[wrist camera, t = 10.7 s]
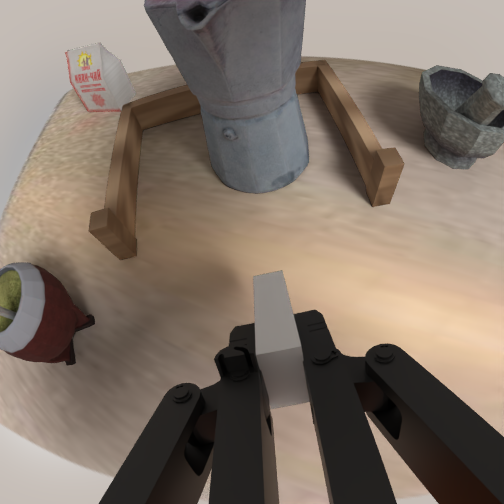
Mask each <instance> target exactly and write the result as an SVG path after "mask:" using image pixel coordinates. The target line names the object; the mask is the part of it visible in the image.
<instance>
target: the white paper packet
mask: <svg viewBox="0 0 504 504" xmlns="http://www.w3.org/2000/svg"><path fill="white" fill-rule="evenodd" d="M65 54H66V57H67V62H68V69H69V78H70V83H71V84H72V86H73V88H74V89H75V91H76V93H77V94H78V96H79V98H80V99H81V101H82V103H83V104H84V106H85V107H86V109H87V111H88V112H103V111H121V110H122V106H123V105H124V104H127V103H129V102H130V100H131V99H132V98H133V97H134V96H135V95H136V92H135V90H134V87H133V85H132V83H131V81H130V79H129V77H128V75H127V73H126V70H125V68H124V66H123V64H122V62H121V60H120V59H119V58H117V57H116V56H115V55H113V54H112V53H111V52H109V51H108V50H107V49H106V48H105V47H104V46H103V45H102V44H101V43H95V44H91V45H87V46H83V47H79V48H76V49H72V50H68V51H67V52H65Z"/></svg>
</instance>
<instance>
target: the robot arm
mask: <svg viewBox="0 0 504 504" xmlns="http://www.w3.org/2000/svg"><path fill="white" fill-rule="evenodd" d="M253 284H254V315H255V323H252V324H247V325H241V326H236V327H235V328H234V329H233V330H232V332H231V333H230V340H229V342H230V343H229V346H228V347H226V348H224V349H222V350H220V351H219V352H218V353H217V354H216V356H215V358H214V360H215V363H216V366H217V369H218V371H219V374H220V377H221V380H220V381H219V382H217V383H216V384H214V385H211V386H209V387H206V388H203V389H201V390H200V388H199V387H198V386H197V385H195V384H192V383H182V384H179V385H176V386H174V387H173V388H171V389H170V390H169V391H168V392H167V393H166V394H165V396H164V398H163V399H162V401H161V403H160V404H159V406H158V407H157V409H156V411H155V412H154V414H153V416H152V417H151V419H150V421H149V422H148V424H147V425H146V427H145V429H144V430H143V432H142V434H141V435H140V437H139V439H138V440H137V442H136V443H135V445H134V447H133V448H132V450H131V452H130V453H129V455H128V456H127V458H126V460H125V461H124V463H123V465H122V466H121V468H120V470H119V471H118V473H117V474H116V476H115V478H114V479H113V481H112V483H111V484H110V486H109V488H108V489H107V491H106V492H105V494H104V496H103V497H102V499H101V501H100V502H99V504H197V503H198V501H199V498H200V496H201V493H202V491H203V488H204V486H205V484H206V481H207V479H208V476H209V474H210V471H211V468H212V472H211V483H210V494H209V504H279V494H278V482H277V469H276V457H275V445H274V432H273V420H272V416H271V413H270V407H271V409H274V408H280V407H285V406H291V405H296V404H301V403H306V402H310V405H311V411H312V417H313V424H314V426H315V431H316V436H317V441H318V445H319V450H320V456H321V461H322V466H323V471H324V476H325V481H326V486H327V492H328V497H329V502H330V504H397V503H396V500H395V497H394V494H393V491H392V488H391V485H390V482H389V479H388V476H387V473H386V470H385V467H384V464H383V461H382V459H381V456H380V453H379V450H378V447H377V445H376V442H375V439H374V436H373V434H372V431H371V428H370V426H369V423H368V420H367V417H366V415H365V412H366V413H367V415H368V417H369V418H370V419H371V420H372V422H373V423H374V424H375V425H376V427H377V428H378V429H379V430H380V432H381V433H382V434H383V435H384V437H385V438H386V439H387V440H388V442H389V443H390V444H391V445H392V447H393V448H394V449H395V450H396V452H397V453H398V454H399V455H400V456H401V458H402V459H403V460H404V461H405V463H406V464H407V465H408V466H409V468H410V469H411V470H412V471H413V473H414V474H415V475H416V476H417V478H418V479H419V480H420V481H421V482H422V484H423V485H424V486H425V487H426V489H427V490H428V491H429V492H430V494H431V495H432V496H433V497H434V498H435V500H436V501H437V502H438V503H439V504H504V437H503V436H502V435H501V434H500V433H499V432H497V431H496V430H495V429H494V428H493V427H492V426H491V425H490V424H488V423H487V422H486V421H485V420H484V419H483V418H482V417H480V416H479V415H478V414H477V413H476V412H475V411H474V410H472V409H471V408H470V407H469V406H468V405H467V404H466V403H464V402H463V401H462V400H461V399H460V398H459V397H457V396H456V395H455V394H454V393H453V392H452V391H451V390H449V389H448V388H447V387H446V386H445V385H444V384H442V383H441V382H440V381H439V380H438V379H437V378H435V377H434V376H433V375H432V374H431V373H429V372H428V371H427V370H426V369H425V368H424V367H422V366H421V365H420V364H419V363H418V362H417V361H415V360H414V359H413V358H412V357H411V356H409V355H408V354H407V353H406V352H405V351H403V350H402V349H401V348H400V347H398V346H396V345H393V344H380V345H376V346H374V347H372V348H371V349H369V350H368V352H367V353H366V357H350V356H345V355H343V354H341V352H340V351H339V350H338V349H336V347H335V345H334V342H333V340H332V337H331V335H330V332H329V330H328V328H327V325H326V323H325V320H324V317H323V315H322V314H321V313H319V312H318V311H317V310H311V311H307V312H302V313H297V314H293V310H292V307H291V303H290V299H289V295H288V291H287V287H286V283H285V279H284V275H283V271H282V270H281V271H277V272H272V273H267V274H262V275H257V276H253ZM269 404H270V405H269Z"/></svg>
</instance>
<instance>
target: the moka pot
mask: <svg viewBox="0 0 504 504" xmlns="http://www.w3.org/2000/svg"><path fill="white" fill-rule="evenodd" d="M305 5H306V0H145V4H144V7H145V10H146V13H147V14H148V16H149V18H150V19H151V21H152V23H153V25H154V26H155V28H156V30H157V32H158V33H159V35H160V37H161V39H162V40H163V42H164V44H165V46H166V48H167V49H168V51H169V53H170V54H171V56H172V57H173V59H174V61H175V63H176V65H177V67H178V69H179V71H180V72H181V74H182V76H183V78H184V79H185V81H186V83H187V85H188V87H189V89H190V91H191V92H192V93H193V95H196V96H197V98H198V101H199V103H200V105H201V115H202V120H203V125H204V130H205V135H206V141H207V146H208V151H209V156H210V161H211V165H212V168H213V169H214V171H215V172H216V174H217V175H218V176H219V178H220V179H221V180H222V182H223V183H224V184H225V185H227V186H228V187H231V188H233V189H236V190H239V191H243V192H250V193H265V192H269V191H274V190H277V189H280V188H282V187H284V186H286V185H288V184H290V183H292V182H293V181H294V180H295V179H296V178H297V177H298V176H299V175H300V174H301V173H302V172H303V170H304V169H305V168H306V166H307V165H308V163H309V151H308V139H307V135H306V130H305V125H304V121H303V117H302V113H301V109H300V105H299V101H298V97H297V94H296V90H295V85H296V80H295V73H296V71H297V69H298V68H299V66H300V63H301V50H302V40H303V29H304V16H305Z"/></svg>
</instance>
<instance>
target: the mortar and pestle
mask: <svg viewBox="0 0 504 504" xmlns="http://www.w3.org/2000/svg"><path fill="white" fill-rule="evenodd" d="M419 103H420V112H421V117H422V121H423V124H424V126H425V128H426V129H425V131H424V143H425V146H426V147H427V149H428V150H429V151H430V152H431V154H432V155H433V156H434V158H435V159H436V160H438V161H440V162H442V163H444V164H445V165H447V166H449V167H451V168H452V169H469V168H470V167H471V166H472V165H473V164H474V163H475V161H476V159H477V158H485V157H488V156H490V155H493V154H494V153H495V152H496V151H497V150H498V148H499V147H500V146H501V145H502V144H503V142H504V77H502V76H501V75H500V74H493V73H490V74H489V75H488V76H487V77H486V78H485V79H484V80H483V81H482V80H480V79H479V78H477V77H475V76H473V75H471V74H469V73H467V72H465V71H463V70H461V69H455V68H450V67H444V66H434V67H432V68H430V69H428V70H426V71H424V72H422V75H421V79H420V84H419Z"/></svg>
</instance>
